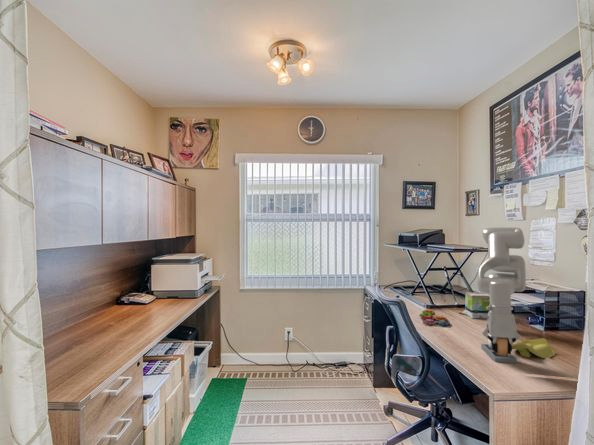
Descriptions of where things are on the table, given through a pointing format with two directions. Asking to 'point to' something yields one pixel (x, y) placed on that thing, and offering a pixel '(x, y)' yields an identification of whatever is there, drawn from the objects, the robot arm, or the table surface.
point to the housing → (497, 357)
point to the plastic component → (534, 348)
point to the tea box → (477, 304)
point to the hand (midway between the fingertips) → (501, 351)
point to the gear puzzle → (434, 319)
